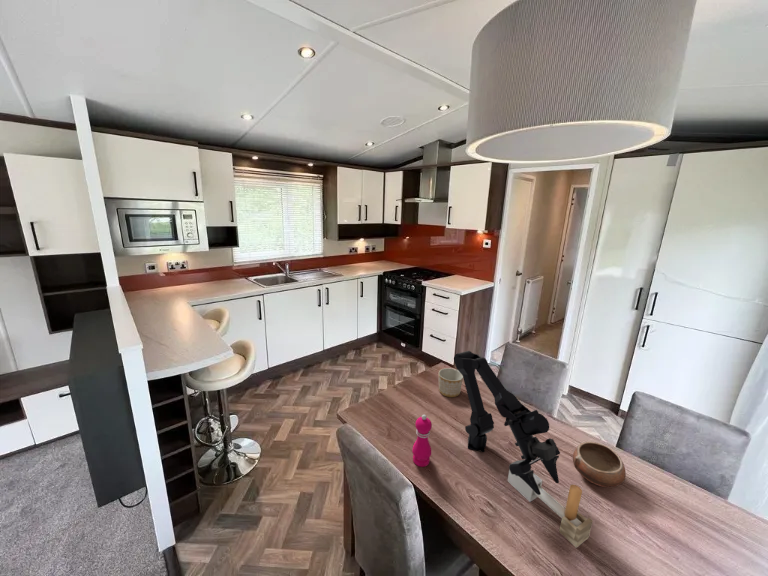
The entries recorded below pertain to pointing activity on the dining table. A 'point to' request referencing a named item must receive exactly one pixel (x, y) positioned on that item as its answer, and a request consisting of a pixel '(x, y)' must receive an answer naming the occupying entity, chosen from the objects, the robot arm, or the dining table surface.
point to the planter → (450, 382)
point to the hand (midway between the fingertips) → (548, 488)
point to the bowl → (599, 464)
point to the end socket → (576, 530)
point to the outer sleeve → (524, 485)
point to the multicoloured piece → (571, 504)
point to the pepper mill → (422, 442)
